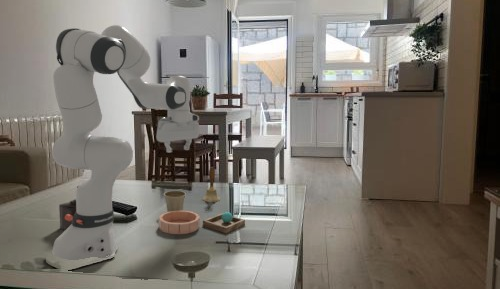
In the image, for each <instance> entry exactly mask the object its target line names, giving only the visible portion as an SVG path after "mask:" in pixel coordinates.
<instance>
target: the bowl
mask: <svg viewBox="0 0 500 289" xmlns="http://www.w3.org/2000/svg"><path fill="white" fill-rule="evenodd" d="M200 220H201V216H200V215H199V214H198V213H196V212H194V211H191V210H182V211H181V210H180V211H179V210H178V211H170V212H164V213H162V214H160V215H159V217H158V228H159V231H161V232H163V233H166V234H169V235H187V234H191V233H194V232H196V231H197V230H199V229H200V226H201V225H200V224H201V221H200Z"/></svg>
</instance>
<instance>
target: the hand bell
mask: <svg viewBox="0 0 500 289" xmlns="http://www.w3.org/2000/svg"><path fill="white" fill-rule="evenodd" d="M215 174H216V173H215V169H214V166H211V167H210V168H209V172H208V176H209V187H208V188H207V189H206V193H205V195H204V197H203V198H202V200H203V202H206V203H217V202H219V201H220V200H221V198H220V197H219V196H218V193H217V192H218V191H217V188H215V187H214V179H215Z"/></svg>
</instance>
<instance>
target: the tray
mask: <svg viewBox="0 0 500 289" xmlns="http://www.w3.org/2000/svg"><path fill="white" fill-rule="evenodd" d="M223 213H224V212H221V213H218V214H216V215H213V216H211V217H209V218H206V219H203V220H202V226H203V227H205V228H208V229H212V230H214V231H218V232H222V233H223V234H227V233H230V232H233V231H235V230H237V229H238V228H241V227H243V226H245V225H246V219H243V218H240V217H237V216H233V215H232V217H233V218H232V221H231V222H229V223H225V222H223V220H222V215H223Z"/></svg>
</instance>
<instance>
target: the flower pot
mask: <svg viewBox="0 0 500 289" xmlns="http://www.w3.org/2000/svg"><path fill="white" fill-rule="evenodd" d="M186 195H187V193H186V192H185V191H181V190H168V191H165V192H164V193H163V196H164V200H165V204H166V211H167V212H170V211H178V210H179V211H180V210H181V211H184V210H183V209H184V201H185V198H186Z"/></svg>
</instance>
